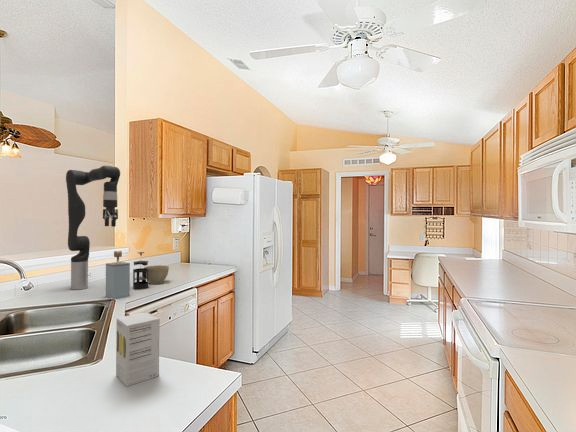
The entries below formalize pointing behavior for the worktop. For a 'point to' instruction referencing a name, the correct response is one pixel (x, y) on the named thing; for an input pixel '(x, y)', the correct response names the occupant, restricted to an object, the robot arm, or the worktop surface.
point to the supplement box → (137, 348)
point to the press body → (117, 280)
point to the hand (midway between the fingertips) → (110, 226)
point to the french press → (143, 283)
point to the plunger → (117, 255)
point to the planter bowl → (157, 273)
